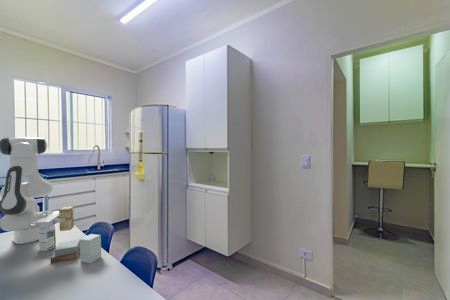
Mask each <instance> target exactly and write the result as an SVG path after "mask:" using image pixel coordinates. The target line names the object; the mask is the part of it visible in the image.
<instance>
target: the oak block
mask: <svg viewBox="0 0 450 300" xmlns="http://www.w3.org/2000/svg"><path fill="white" fill-rule="evenodd" d="M58 211H59V219H60V218H66V221H64V222H59V232H65V231H71V230H72V229H73V228H74V226H75V224H74V223H75V220H74V206H65V207H61V208H60V209H58Z"/></svg>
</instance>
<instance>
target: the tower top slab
mask: <svg viewBox="0 0 450 300" xmlns="http://www.w3.org/2000/svg"><path fill="white" fill-rule="evenodd" d="M79 247H80V240H79V239H75V240H69V241H63V242H59V243H58V244H57V245H56V247H55V249H54V254H55V257H56V256H61V255H66V254H71V253H77V251H78V249H79Z"/></svg>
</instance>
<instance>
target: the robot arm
mask: <svg viewBox="0 0 450 300" xmlns="http://www.w3.org/2000/svg"><path fill="white" fill-rule="evenodd" d="M47 149H48V142H47V141H46V139H45V138H44V137H31V136H24V137H23V136H22V137H18V136H17V137H5V138H4V137H3V138H2V139H1V140H0V154H3V155H5V156H9V168H8V170H7V173H6V177H5V184H4V185H3V187H2V188H1V189H0V197H1V200H0V212H1V213H2V214H3V215H4V216H2V217H1V218H0V228H1V230H3V231H5V232H14V233H13V234H14V235H13V236H14V237H13V239H12V240H11V243H12V242H13V243H14V244H16V245H20V244H21V245H22V244H29V243H33V242H36V241H39V232H38V229H42V228H50V227H51V226H53V225H54V224H55V225H56V224H60V222H64V221H66V218H60V219H59V210H50V209H48V210H43V211H40V206H39V205H38V201H37V199H36V198H42V197H46V196H49V195H50V194H51V193H52V192H53V185H52V183H51V182H49V181H48V180H46V179H44V178H43V177H42V176H41V175H40V172H39V168H38V166H39V165H38V157H37V155H40V154H44V153H45V152H46V151H47ZM23 179H24V180H26V182H23Z"/></svg>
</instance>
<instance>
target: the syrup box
mask: <svg viewBox="0 0 450 300" xmlns="http://www.w3.org/2000/svg"><path fill="white" fill-rule="evenodd" d="M38 232H39V240H38V247H39V251H42V252H48V251H49V250H51V249H52V250H53V248H56V247H57V244H56V243H57V242H56V224H54V225H53V226H51V227H50V228H42V229H38Z"/></svg>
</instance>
